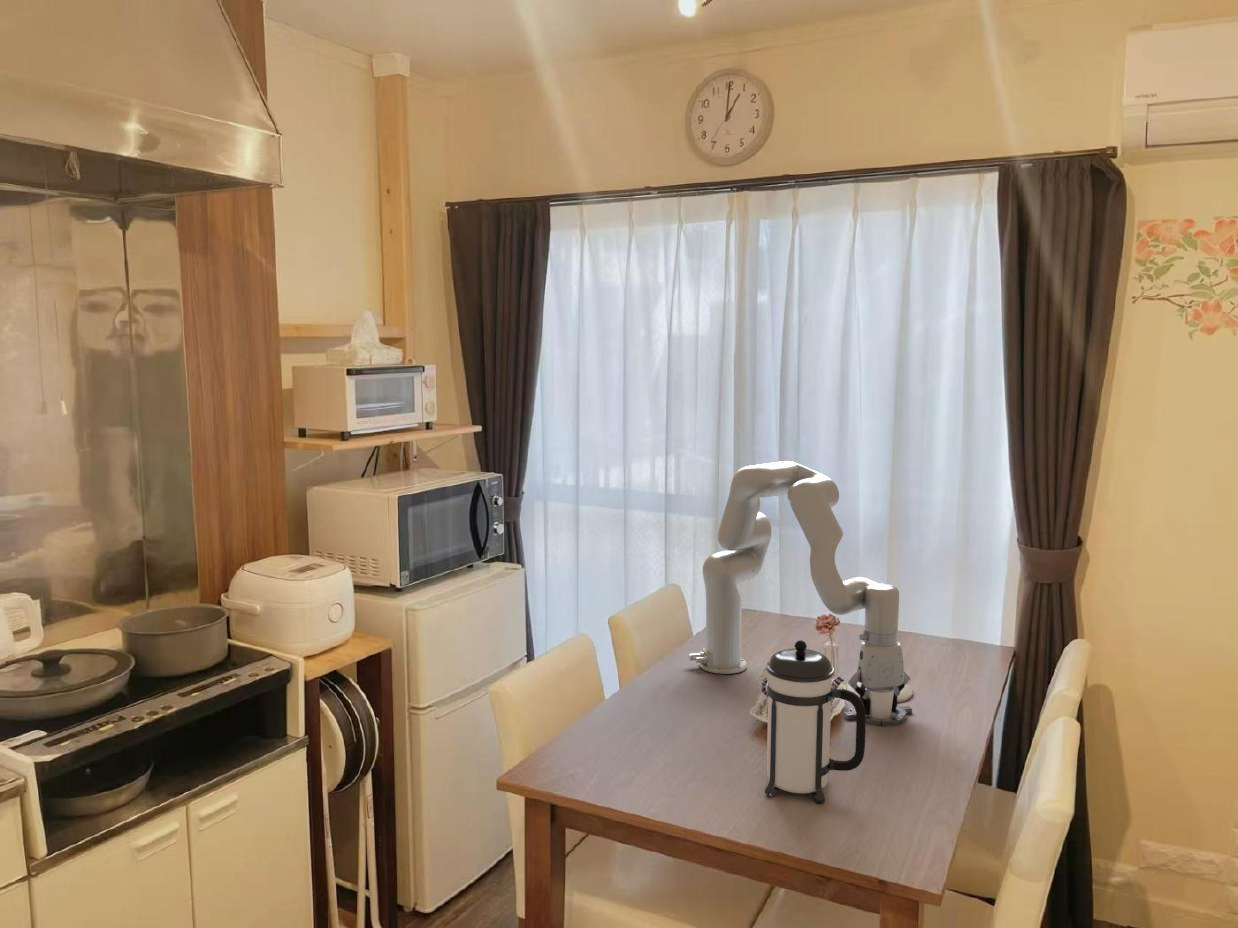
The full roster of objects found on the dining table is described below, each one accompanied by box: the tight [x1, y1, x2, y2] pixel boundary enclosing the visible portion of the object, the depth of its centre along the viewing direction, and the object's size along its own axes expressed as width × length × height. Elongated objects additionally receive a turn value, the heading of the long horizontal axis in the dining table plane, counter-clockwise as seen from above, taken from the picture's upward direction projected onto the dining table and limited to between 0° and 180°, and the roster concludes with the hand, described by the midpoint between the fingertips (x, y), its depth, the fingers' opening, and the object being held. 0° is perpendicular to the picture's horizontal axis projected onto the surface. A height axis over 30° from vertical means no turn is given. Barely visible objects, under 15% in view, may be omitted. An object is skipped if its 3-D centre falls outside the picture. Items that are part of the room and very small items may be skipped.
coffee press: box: [759, 640, 867, 805], centre depth 182 cm, size 17×16×30 cm
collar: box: [843, 704, 913, 727], centre depth 219 cm, size 17×12×1 cm
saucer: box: [846, 681, 913, 703], centre depth 234 cm, size 16×16×1 cm
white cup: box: [864, 687, 894, 719], centre depth 218 cm, size 7×7×7 cm
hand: (878, 710), depth 219 cm, fingers closed on white cup, 6 cm apart
